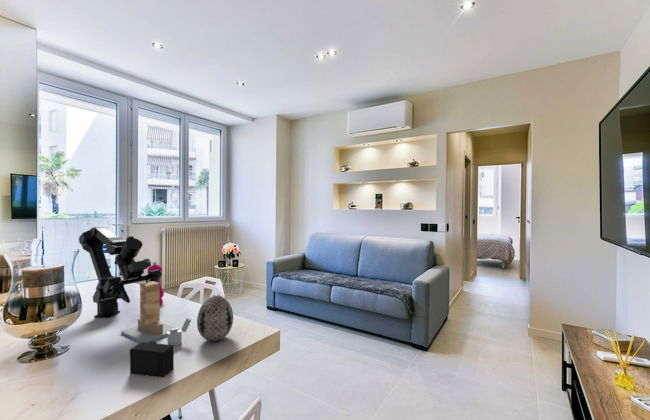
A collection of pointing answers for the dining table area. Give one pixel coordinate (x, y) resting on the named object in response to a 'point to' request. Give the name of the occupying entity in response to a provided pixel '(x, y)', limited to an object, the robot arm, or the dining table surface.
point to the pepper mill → (158, 267)
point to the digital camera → (152, 359)
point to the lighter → (177, 334)
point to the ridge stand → (147, 332)
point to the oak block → (149, 303)
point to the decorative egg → (215, 318)
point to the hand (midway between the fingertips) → (142, 298)
